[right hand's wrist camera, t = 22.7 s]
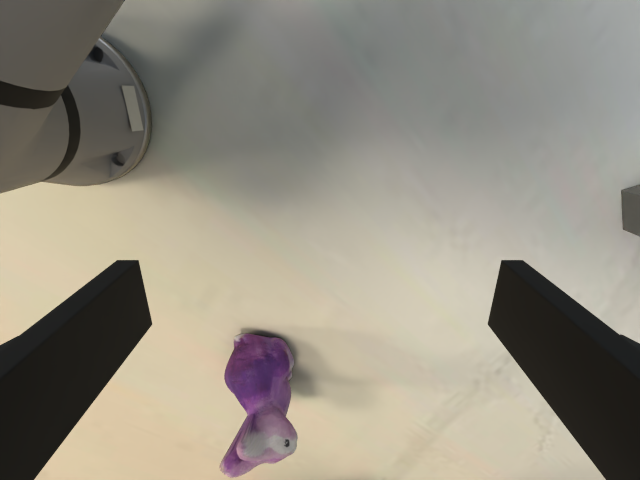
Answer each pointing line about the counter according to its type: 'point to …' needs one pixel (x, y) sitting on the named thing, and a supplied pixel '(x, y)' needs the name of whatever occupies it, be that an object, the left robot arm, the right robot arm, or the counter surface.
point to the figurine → (260, 403)
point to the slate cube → (631, 209)
